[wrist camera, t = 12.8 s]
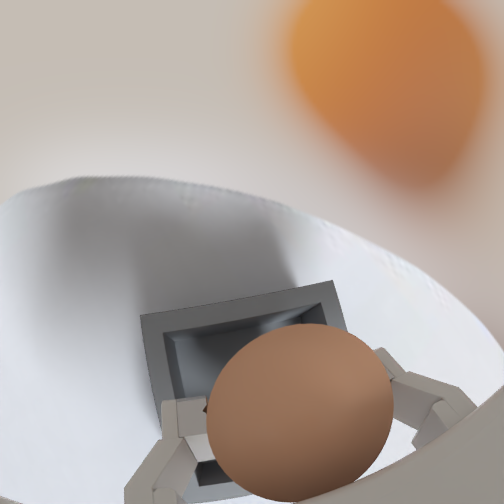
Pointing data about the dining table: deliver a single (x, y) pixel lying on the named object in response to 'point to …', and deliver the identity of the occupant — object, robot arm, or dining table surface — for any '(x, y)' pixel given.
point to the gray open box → (222, 354)
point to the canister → (299, 412)
